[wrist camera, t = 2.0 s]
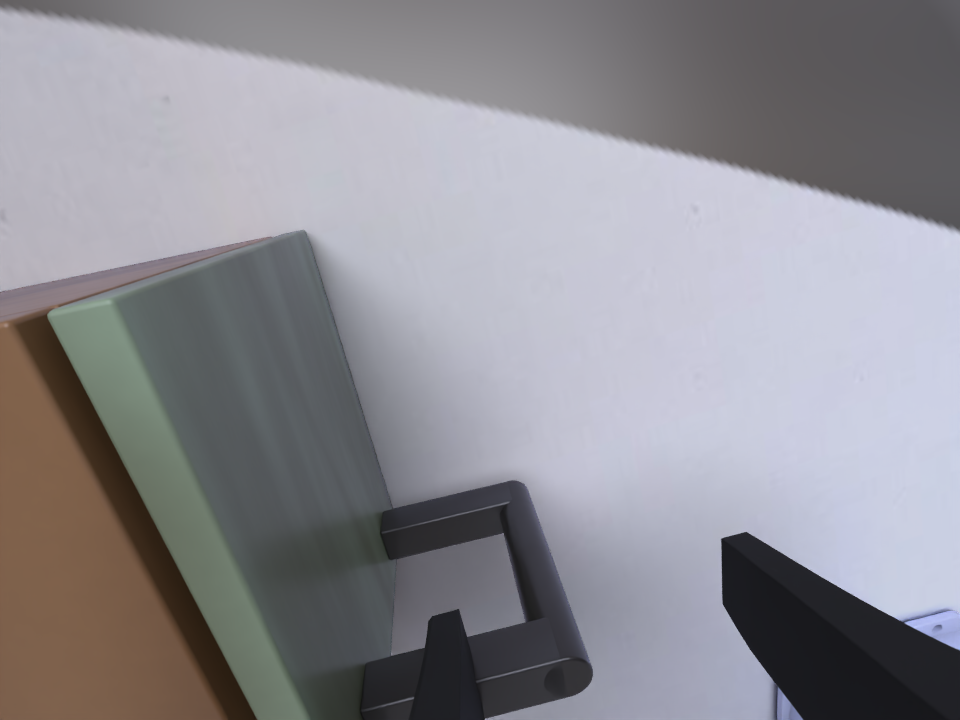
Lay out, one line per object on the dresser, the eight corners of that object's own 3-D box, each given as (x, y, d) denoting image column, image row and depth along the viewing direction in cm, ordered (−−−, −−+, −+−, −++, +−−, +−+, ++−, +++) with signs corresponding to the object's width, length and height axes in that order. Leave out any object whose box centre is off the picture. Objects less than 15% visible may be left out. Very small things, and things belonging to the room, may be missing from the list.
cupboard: (273, 235, 15) (7, 320, 5) (371, 532, 19) (320, 893, 9) (-54, 303, 15) (-997, 529, 5) (115, 592, 19) (-223, 1040, 9)
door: (466, 195, 16) (542, 204, 6) (525, 497, 19) (629, 801, 10) (280, 234, 15) (40, 312, 6) (379, 533, 19) (338, 880, 10)
